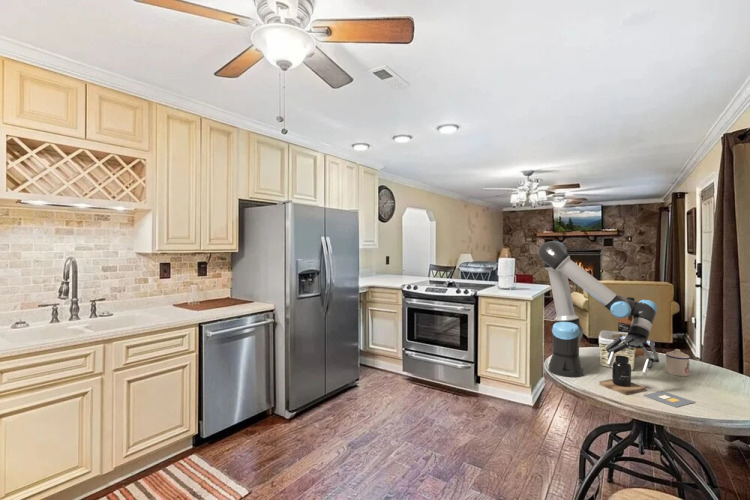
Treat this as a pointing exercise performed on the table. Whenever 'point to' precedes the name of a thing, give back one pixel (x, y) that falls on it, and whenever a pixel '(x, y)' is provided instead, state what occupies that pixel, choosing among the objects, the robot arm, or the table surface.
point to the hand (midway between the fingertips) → (626, 369)
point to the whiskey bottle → (625, 326)
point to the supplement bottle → (621, 371)
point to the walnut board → (624, 390)
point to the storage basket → (607, 339)
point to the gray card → (669, 399)
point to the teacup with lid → (677, 363)
